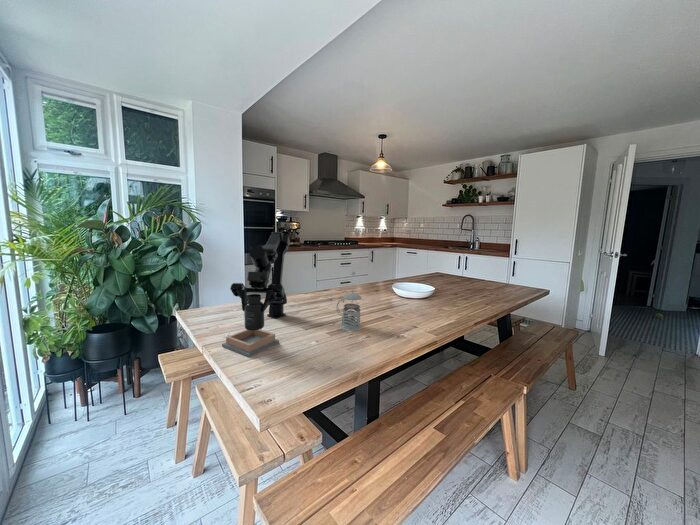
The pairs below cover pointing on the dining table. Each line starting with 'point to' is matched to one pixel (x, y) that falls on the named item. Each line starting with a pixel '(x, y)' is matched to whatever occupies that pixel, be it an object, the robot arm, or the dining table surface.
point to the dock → (250, 342)
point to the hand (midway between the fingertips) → (253, 311)
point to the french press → (351, 313)
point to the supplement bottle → (253, 312)
